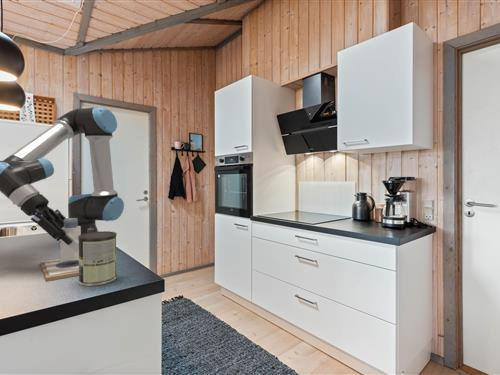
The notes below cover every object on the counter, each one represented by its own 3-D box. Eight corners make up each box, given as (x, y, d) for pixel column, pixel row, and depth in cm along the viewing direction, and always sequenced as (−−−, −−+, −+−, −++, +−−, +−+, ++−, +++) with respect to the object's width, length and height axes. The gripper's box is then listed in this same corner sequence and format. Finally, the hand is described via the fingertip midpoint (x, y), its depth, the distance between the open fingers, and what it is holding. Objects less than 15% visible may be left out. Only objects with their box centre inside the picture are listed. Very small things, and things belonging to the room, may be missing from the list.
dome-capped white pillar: (67, 257, 100) (66, 217, 99) (80, 256, 100) (80, 217, 100) (60, 260, 95) (60, 219, 95) (74, 260, 96) (74, 219, 96)
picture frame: (40, 264, 101) (40, 260, 101) (90, 256, 111) (90, 253, 111) (46, 281, 84) (46, 276, 84) (104, 270, 95) (104, 266, 95)
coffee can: (70, 283, 83) (69, 235, 83) (100, 272, 93) (100, 230, 92) (95, 288, 79) (95, 238, 79) (124, 276, 89) (124, 232, 89)
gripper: (37, 206, 104) (85, 249, 107) (3, 211, 86) (61, 262, 89) (52, 192, 104) (100, 235, 107) (22, 194, 87) (79, 245, 90)
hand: (82, 247), depth 98 cm, fingers closed on dome-capped white pillar, 4 cm apart
